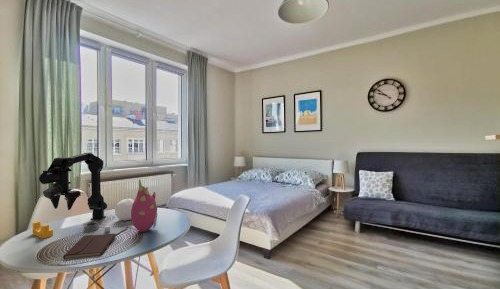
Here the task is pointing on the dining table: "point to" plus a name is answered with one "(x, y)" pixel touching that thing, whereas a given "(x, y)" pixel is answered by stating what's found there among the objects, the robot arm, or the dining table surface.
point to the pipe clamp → (42, 230)
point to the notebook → (90, 246)
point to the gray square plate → (109, 230)
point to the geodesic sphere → (124, 209)
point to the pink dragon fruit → (144, 210)
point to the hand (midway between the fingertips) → (62, 209)
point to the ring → (91, 226)
